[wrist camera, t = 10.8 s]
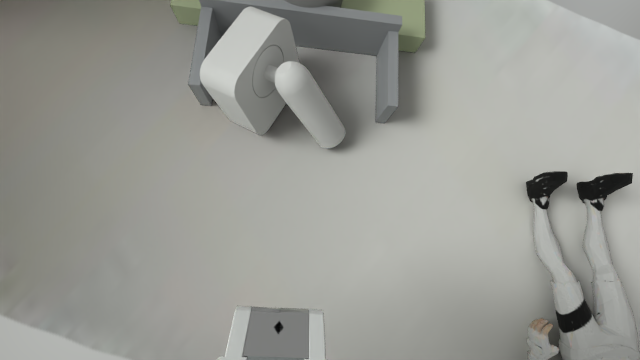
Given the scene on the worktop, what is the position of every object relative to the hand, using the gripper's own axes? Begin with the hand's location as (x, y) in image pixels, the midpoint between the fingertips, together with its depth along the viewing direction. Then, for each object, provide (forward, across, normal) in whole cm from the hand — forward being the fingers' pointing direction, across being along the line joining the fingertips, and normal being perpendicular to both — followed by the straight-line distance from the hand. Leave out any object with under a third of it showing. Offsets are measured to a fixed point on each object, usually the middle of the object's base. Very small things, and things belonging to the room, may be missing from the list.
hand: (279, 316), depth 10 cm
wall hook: (+23, -1, -2) cm, 23 cm away
